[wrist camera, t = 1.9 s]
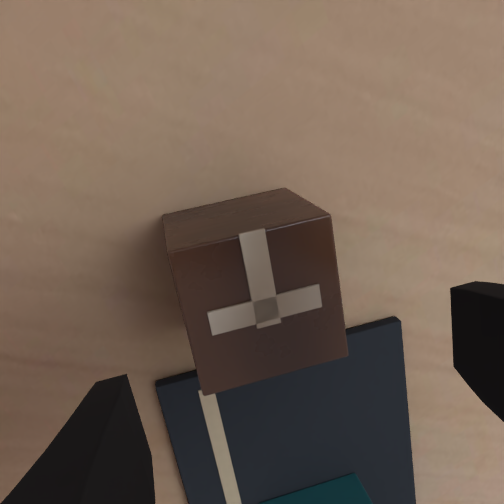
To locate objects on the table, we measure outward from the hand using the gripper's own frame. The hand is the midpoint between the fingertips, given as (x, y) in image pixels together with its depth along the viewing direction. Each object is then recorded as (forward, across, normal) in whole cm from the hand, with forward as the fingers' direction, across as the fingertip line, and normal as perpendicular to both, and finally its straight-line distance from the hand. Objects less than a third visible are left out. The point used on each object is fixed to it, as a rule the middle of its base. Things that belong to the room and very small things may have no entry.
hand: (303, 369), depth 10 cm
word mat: (+8, -1, +13) cm, 15 cm away
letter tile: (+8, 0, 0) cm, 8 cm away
